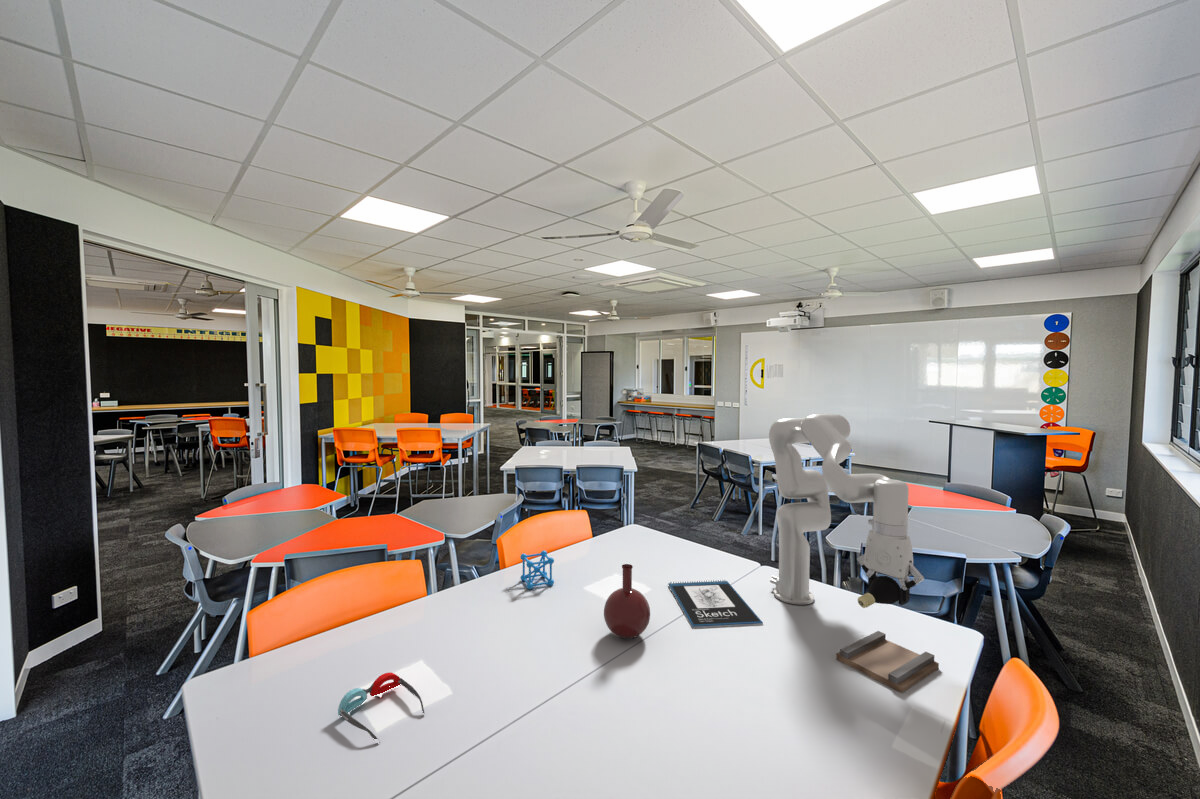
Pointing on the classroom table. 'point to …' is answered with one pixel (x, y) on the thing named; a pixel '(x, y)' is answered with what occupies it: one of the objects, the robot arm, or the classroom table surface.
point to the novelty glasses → (373, 690)
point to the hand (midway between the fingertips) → (887, 597)
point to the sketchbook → (713, 604)
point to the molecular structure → (537, 569)
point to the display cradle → (888, 661)
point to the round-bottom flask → (627, 609)
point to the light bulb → (880, 592)
